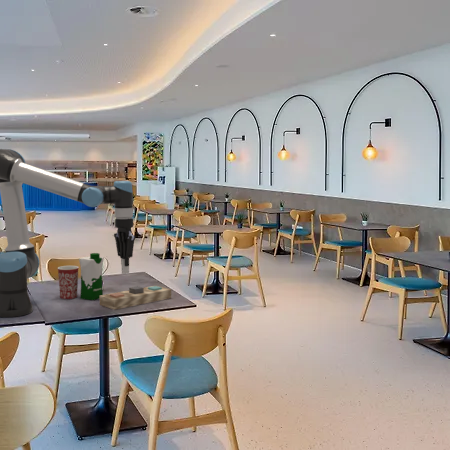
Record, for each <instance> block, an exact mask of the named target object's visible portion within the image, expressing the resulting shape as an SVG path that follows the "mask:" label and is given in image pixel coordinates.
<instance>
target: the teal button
mask: <svg viewBox="0 0 450 450" xmlns="http://www.w3.org/2000/svg"><path fill="white" fill-rule="evenodd" d="M158 286H159V285H152V287H150V286H147V287H148V289H149V290H153V291H155V290H161V289H162V287H163V286H160V287H158Z"/></svg>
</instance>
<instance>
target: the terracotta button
mask: <svg viewBox="0 0 450 450" xmlns="http://www.w3.org/2000/svg"><path fill="white" fill-rule="evenodd" d="M113 293H114V294H111V293H109V294H110V296H111V297H114V298H118V297H123V296H124V294H121V293H117V292H113Z"/></svg>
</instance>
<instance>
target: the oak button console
mask: <svg viewBox="0 0 450 450" xmlns="http://www.w3.org/2000/svg"><path fill="white" fill-rule="evenodd" d="M152 286H153V285H152ZM152 286H146V287H143V288H144V293H139V294H132V293H129V290H123V291H119V292H116V293H121V294H124V296H123V297H118V298H114V297H111V296H110V294H114V293H115V292H112V293H106V294H103V295H100V296H99V297H100V298H99V305H100V306H101V307H105V308H108V309H111V310H114V311H115V310H121V309H125V308H130V307H134V306H140V305H145V304H149V303H155V302H159V301H163V300H169V298H170V299H172V289H170V288H167V287H164V286H159V285H157V286H158V287H162V289H161V290H155V291H153V290H149V289H148V287H152Z"/></svg>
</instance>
